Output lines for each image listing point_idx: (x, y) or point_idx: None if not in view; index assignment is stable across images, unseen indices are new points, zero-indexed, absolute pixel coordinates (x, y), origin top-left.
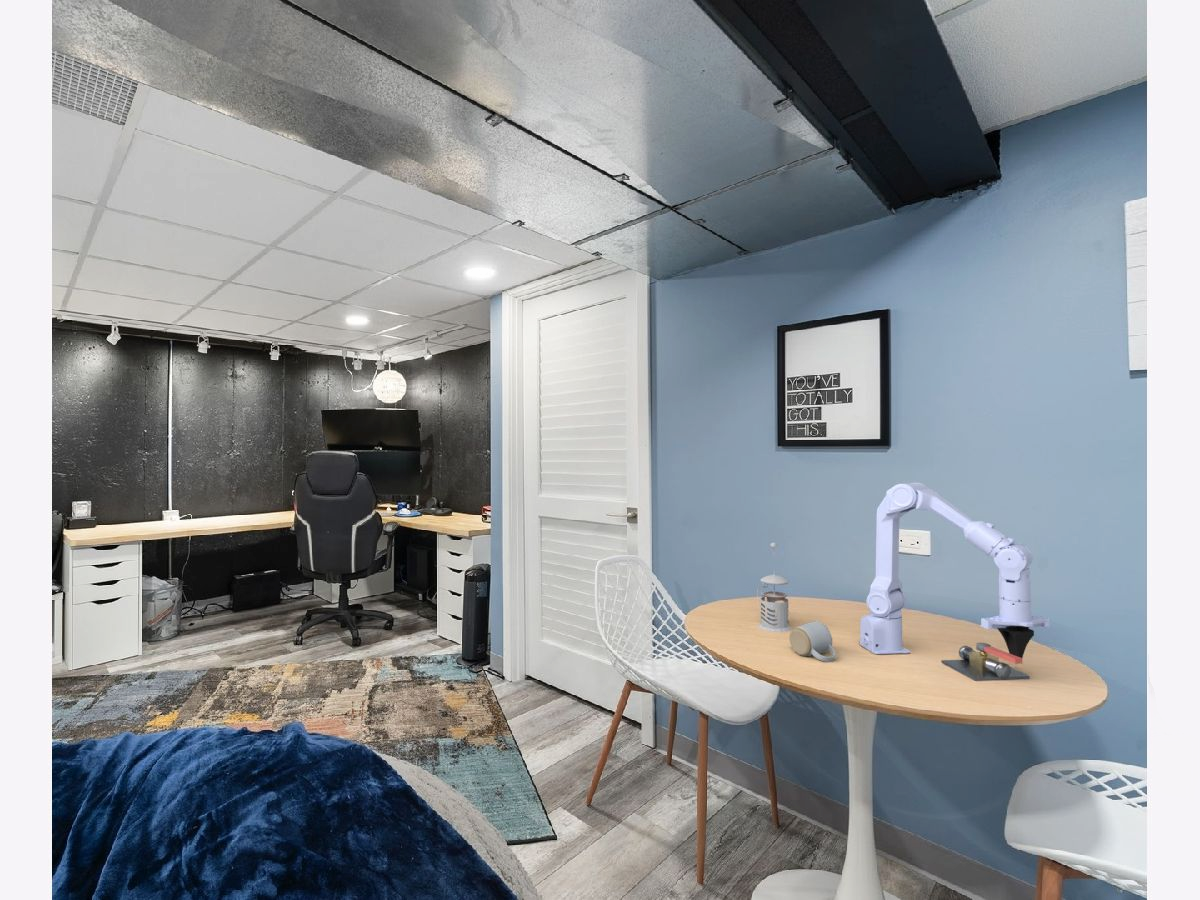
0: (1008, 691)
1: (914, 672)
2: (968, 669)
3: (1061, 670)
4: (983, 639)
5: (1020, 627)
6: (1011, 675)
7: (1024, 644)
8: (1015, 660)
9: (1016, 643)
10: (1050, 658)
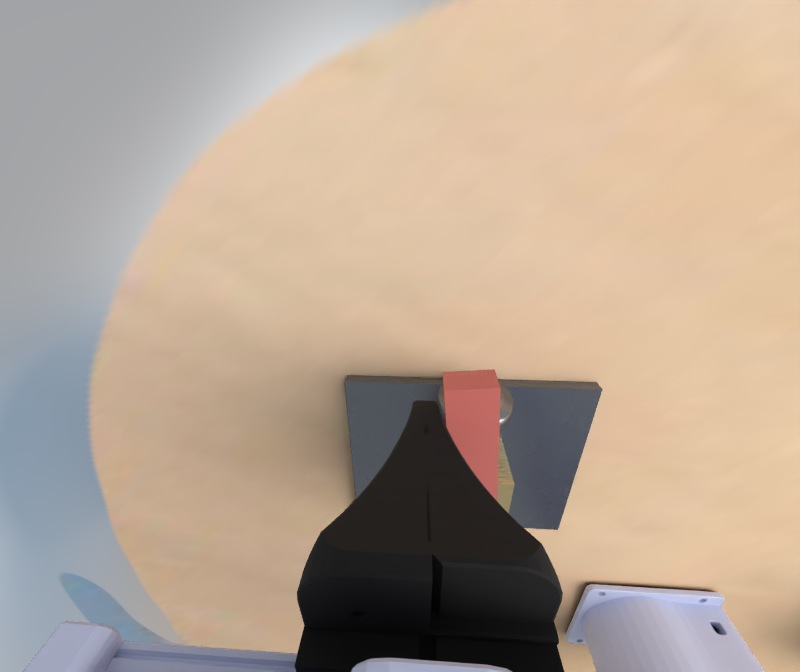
0: (561, 269)
1: (754, 472)
2: (539, 458)
3: (168, 423)
4: (261, 616)
5: (400, 657)
6: (417, 394)
7: (407, 471)
8: (496, 382)
9: (479, 483)
10: (146, 501)
